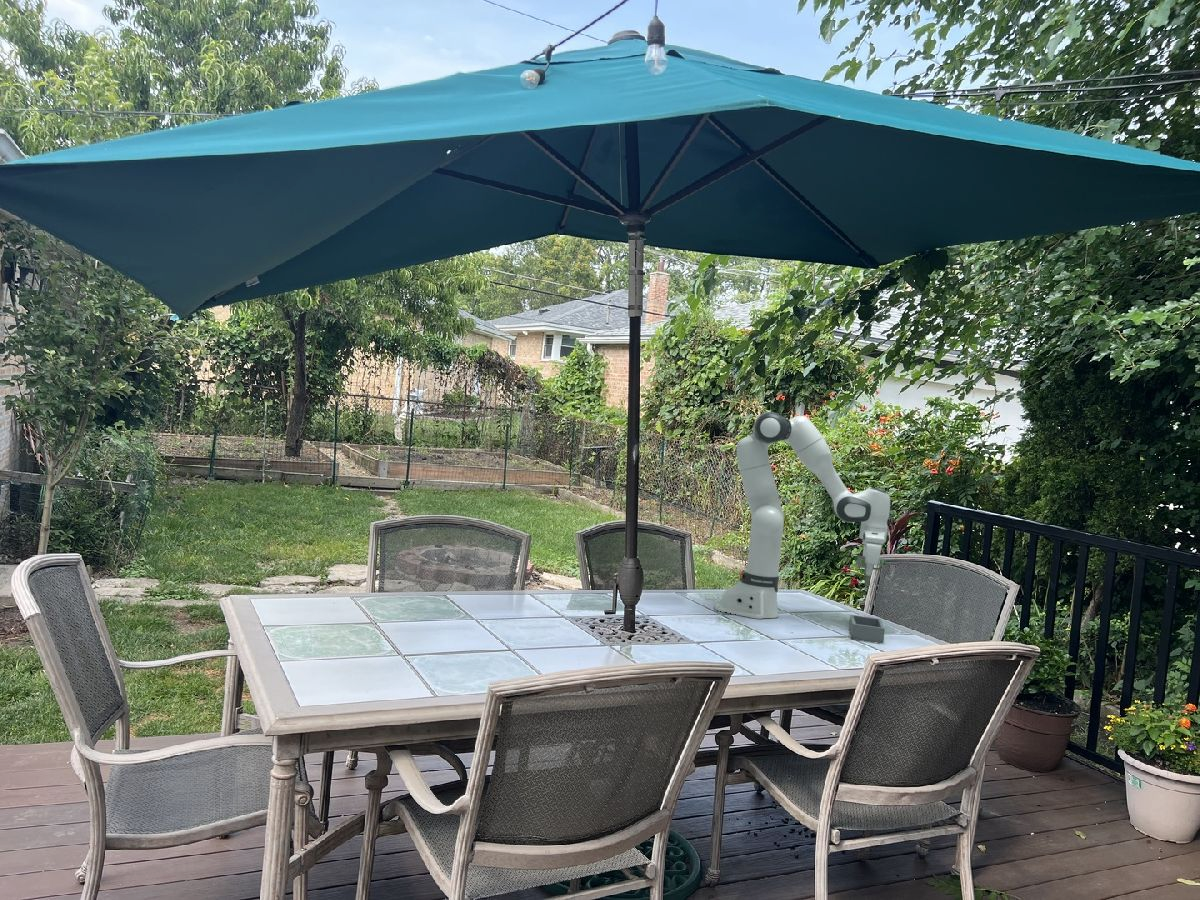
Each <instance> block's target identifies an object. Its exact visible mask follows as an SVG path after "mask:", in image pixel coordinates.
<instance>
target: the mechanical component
mask: <svg viewBox="0 0 1200 900" xmlns="http://www.w3.org/2000/svg"><path fill="white" fill-rule="evenodd" d="M863 560H864V562H862V561H863ZM854 561H856V565H857V567H858V568H862V569H864V573H865V579H864V587H869V586H870V582H871V576H868V575H866V568H867V564H866V562H865V557H864V556H863V555H859V554H858V555H855V556H854ZM886 562H887V560H884V559H880V561H879V562H878V564H877V565H876V566H880V567H874V566H875V565H873V569H872V571H873V570H874V571H882V570H883V568H884V566H886V564H887V563H886Z"/></svg>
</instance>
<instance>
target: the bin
mask: <svg viewBox="0 0 1200 900" xmlns="http://www.w3.org/2000/svg"><path fill="white" fill-rule="evenodd" d="M848 626H849V627H848V632H849V631H850V632H849V635H851V636H850V640H853V639H857V640H856V641H860V640H864V641H863V642H866V641H870V642H869V643H873V642H877V643H876V644H880V643H883V644H884V640H885V639H884V638H885V630H886V628H885V626H884V624H883V621H882V618H876V617H869V616H863V615H856V614H850V615H849V624H848Z"/></svg>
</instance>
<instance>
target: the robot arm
mask: <svg viewBox="0 0 1200 900" xmlns="http://www.w3.org/2000/svg"><path fill="white" fill-rule="evenodd" d="M782 441H785V442H786V443H788V444H789V446H790V448H792V451H793V452H794V453H795V455H796V456H797V458H798V460H799V461H800V462H801V463H802V464H803V465H804V467H806V469H808V470H809V471H810V472H811V473H813V474H814V475H815V476H816V477H817V479H819V480H820V482H821V484H822V485H823V487H824V489H825V490H826V492H827V493H828V494H829V497H830V499H831V502H832V509H833V513H834V514H835V515H836V517H837V518H838V519H840V520H842V521H843V522H845V523H860V530H859V537H858V538H859V539H861V540H862V544H863V549H862V550H863V551H862V556H864V557H865V560H864V562H866V564H867V568H866V573H865V576H866V575H868V576H870V577H871V576H872V574H873V565H874V566H878V565H877V564H878V563H879V562H880V556H881V552H882V547H883V545H884V544H885V543H886V541H887V534H888V528H889V527H888V519H889V518H890V511H891V496H890V495H889V493H888V492H887V491H885V490H882V489H879V488H876V487H867V488H866V489H864V490H861V491H857V492H856V493H855V492H854V493H853V492H851V491H850V490H849V489H848V488H847V487H846V485H845V483H844V482H843V481H842V479H841V477H840V476H839V474H838V473H837V471H836V469H835V467H834V464H833V463H834V462H833V455H832V452H831V450H830V447H829V445H828V443H827V441H826V439H825V438H824V436H823V435H822V434H821V432H820V431H819V430H818V428H817V427H816V426H815V424H814V423H813V422H812V421H811V420H810V419H809V418H808V417H807V416H804V415H797V416H794V417H792V418H791V419H787V418H786V417H784V416H782V415H780V414H779V413H776V412H773V411H766V412H763V413H761V414H760V415H758V416H757V418H755V421H754V424H753V428H752V433H751V434H750V435H748V436H745V437H743V438H741V439H740V440H739V441H738V442H737V444H736V459H737V463H738V470H739V474H740V477H741V483H742V485H743V490H744V494H745V496H746V499H747V504H748V506H749V510H750V514H751V522H750V523H751V524H750V534H749V545H748V547H749V548H748V557H747V563H746V565H747V566H746V571H745V570H741V572H740V573H739V576H740V577H739V582H737V583H736V584H734V585H732V586H730V587H729V588H728V589H726V590H725V591H724V593H723V594H722V598H721V601H718V602H717V603H715V604H714V609H715V610H716V611H717V610H718V611H717V612H720V611H721V612H720V613H725V612H727V613H726V614H730V613H731V615H735V614H736V616H740V617H741V616H742V617H745V618H746V617H747V618H751V619H757V620H760V619H774V618H778V617H779V610H778V596H777V595H778V591H779V585H780V576H779V570H780V563H781V562H780V561H781V552H782V543H783V535H784V533H783V532H784V525H785V524H784V523H785V517H784V512H783V508H782V504H781V500H780V496H779V492H778V489H777V486H776V481H775V478H774V473H773V469H772V466H771V461H770V457H769V452H768V451H769V446H770V445H772V444H776V443H778V442H782Z"/></svg>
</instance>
